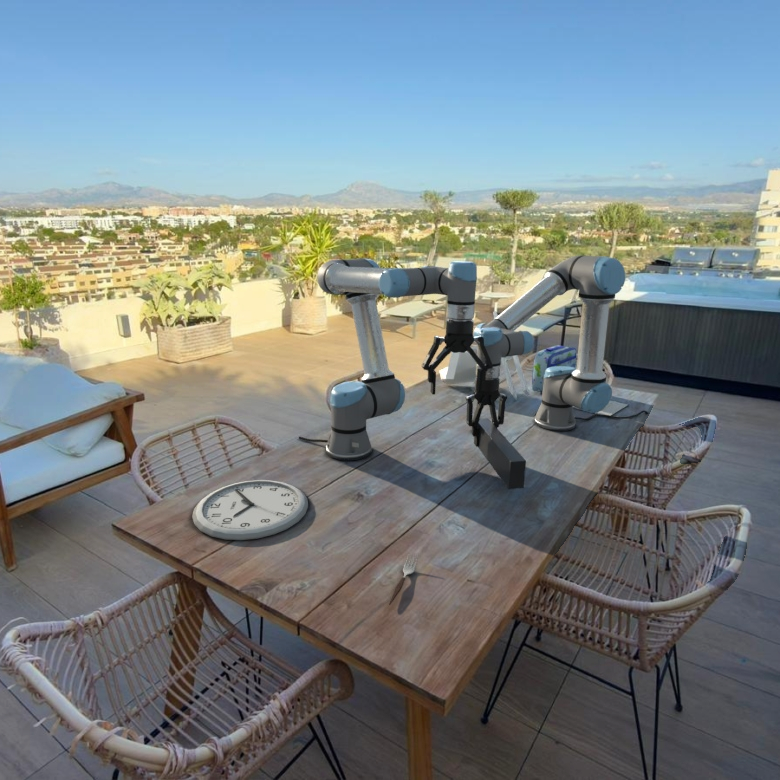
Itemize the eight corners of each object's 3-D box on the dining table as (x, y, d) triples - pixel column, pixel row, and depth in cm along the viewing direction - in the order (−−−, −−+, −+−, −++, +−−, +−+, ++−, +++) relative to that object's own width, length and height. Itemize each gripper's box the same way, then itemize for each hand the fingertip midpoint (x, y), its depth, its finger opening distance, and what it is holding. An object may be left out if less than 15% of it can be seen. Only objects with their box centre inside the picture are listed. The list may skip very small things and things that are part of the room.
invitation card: (608, 416, 214) (573, 407, 224) (608, 416, 214) (573, 408, 224) (628, 404, 229) (594, 396, 238) (628, 405, 229) (594, 397, 238)
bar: (474, 442, 176) (475, 419, 174) (486, 441, 177) (488, 418, 174) (508, 489, 145) (510, 461, 143) (523, 487, 146) (526, 460, 143)
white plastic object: (461, 429, 252) (437, 405, 227) (444, 352, 274) (420, 323, 250) (535, 404, 240) (518, 377, 215) (510, 326, 262) (492, 293, 237)
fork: (383, 605, 105) (383, 597, 105) (407, 560, 120) (408, 552, 119) (395, 608, 104) (395, 600, 104) (418, 562, 119) (419, 555, 118)
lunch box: (548, 398, 236) (553, 353, 229) (527, 393, 243) (531, 349, 237) (575, 387, 253) (581, 344, 247) (555, 382, 260) (560, 341, 254)
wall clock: (304, 532, 127) (176, 536, 124) (304, 538, 127) (177, 542, 125) (311, 475, 155) (207, 478, 153) (311, 480, 156) (208, 483, 153)
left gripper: (418, 321, 139) (415, 397, 145) (508, 321, 142) (501, 395, 149) (413, 317, 146) (410, 389, 152) (498, 316, 149) (493, 387, 156)
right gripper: (464, 381, 161) (461, 450, 168) (518, 379, 164) (513, 447, 171) (457, 374, 168) (455, 441, 175) (509, 372, 171) (505, 438, 178)
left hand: (455, 392), depth 151 cm, fingers open, 13 cm apart
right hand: (483, 444), depth 173 cm, fingers closed on bar, 4 cm apart
